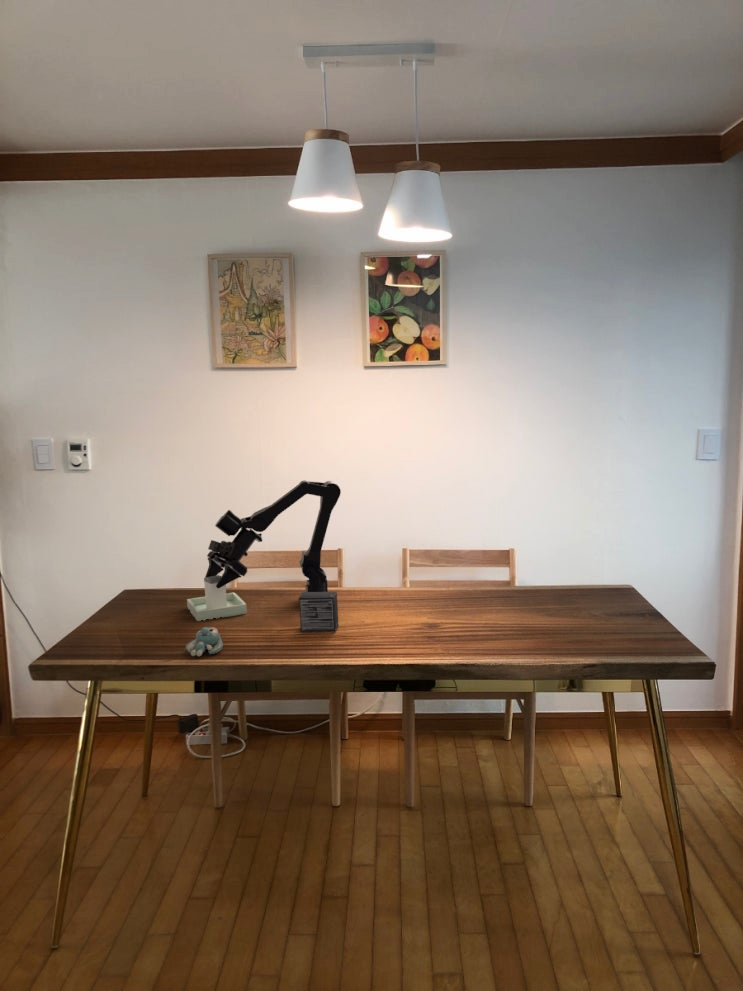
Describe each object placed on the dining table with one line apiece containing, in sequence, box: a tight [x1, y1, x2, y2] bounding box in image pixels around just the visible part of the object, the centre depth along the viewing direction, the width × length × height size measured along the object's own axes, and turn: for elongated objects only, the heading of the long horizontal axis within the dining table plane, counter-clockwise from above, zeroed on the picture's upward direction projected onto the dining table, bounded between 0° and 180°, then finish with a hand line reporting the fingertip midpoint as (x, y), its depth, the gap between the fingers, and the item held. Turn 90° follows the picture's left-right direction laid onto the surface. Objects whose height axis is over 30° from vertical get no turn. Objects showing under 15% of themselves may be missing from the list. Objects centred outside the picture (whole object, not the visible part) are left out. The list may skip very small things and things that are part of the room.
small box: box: [298, 591, 340, 633], centre depth 233 cm, size 11×6×10 cm, turn 84°
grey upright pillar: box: [203, 574, 227, 609], centre depth 254 cm, size 5×5×10 cm
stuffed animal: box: [185, 626, 224, 657], centre depth 218 cm, size 11×7×12 cm
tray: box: [186, 592, 248, 622], centre depth 255 cm, size 16×16×3 cm
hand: (211, 584), depth 253 cm, fingers open, 9 cm apart
